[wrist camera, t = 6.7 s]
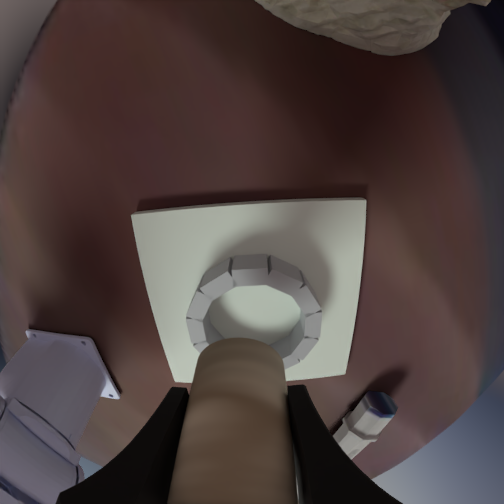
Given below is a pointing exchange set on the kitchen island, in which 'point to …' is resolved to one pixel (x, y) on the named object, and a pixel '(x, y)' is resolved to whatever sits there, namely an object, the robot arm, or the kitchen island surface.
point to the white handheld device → (364, 423)
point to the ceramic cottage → (370, 21)
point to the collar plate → (255, 279)
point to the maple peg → (236, 429)
